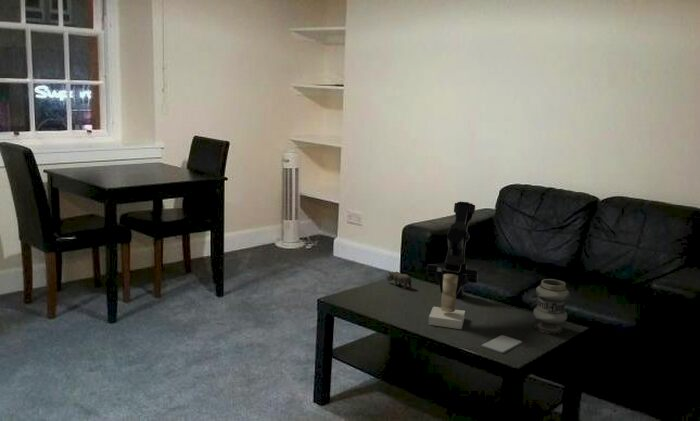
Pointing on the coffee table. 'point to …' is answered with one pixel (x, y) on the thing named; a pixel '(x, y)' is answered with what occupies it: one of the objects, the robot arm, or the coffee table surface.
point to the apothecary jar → (551, 305)
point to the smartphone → (501, 344)
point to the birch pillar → (449, 292)
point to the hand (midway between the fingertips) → (448, 293)
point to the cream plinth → (446, 318)
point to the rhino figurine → (400, 279)
